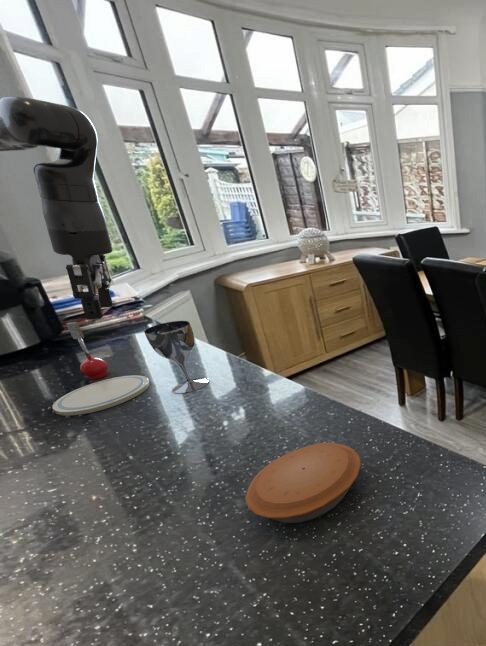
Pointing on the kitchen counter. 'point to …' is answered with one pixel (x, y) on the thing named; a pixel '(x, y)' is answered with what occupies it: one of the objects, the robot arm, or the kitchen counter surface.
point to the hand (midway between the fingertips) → (100, 312)
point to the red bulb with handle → (88, 356)
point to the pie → (303, 483)
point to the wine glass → (175, 349)
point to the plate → (101, 395)
